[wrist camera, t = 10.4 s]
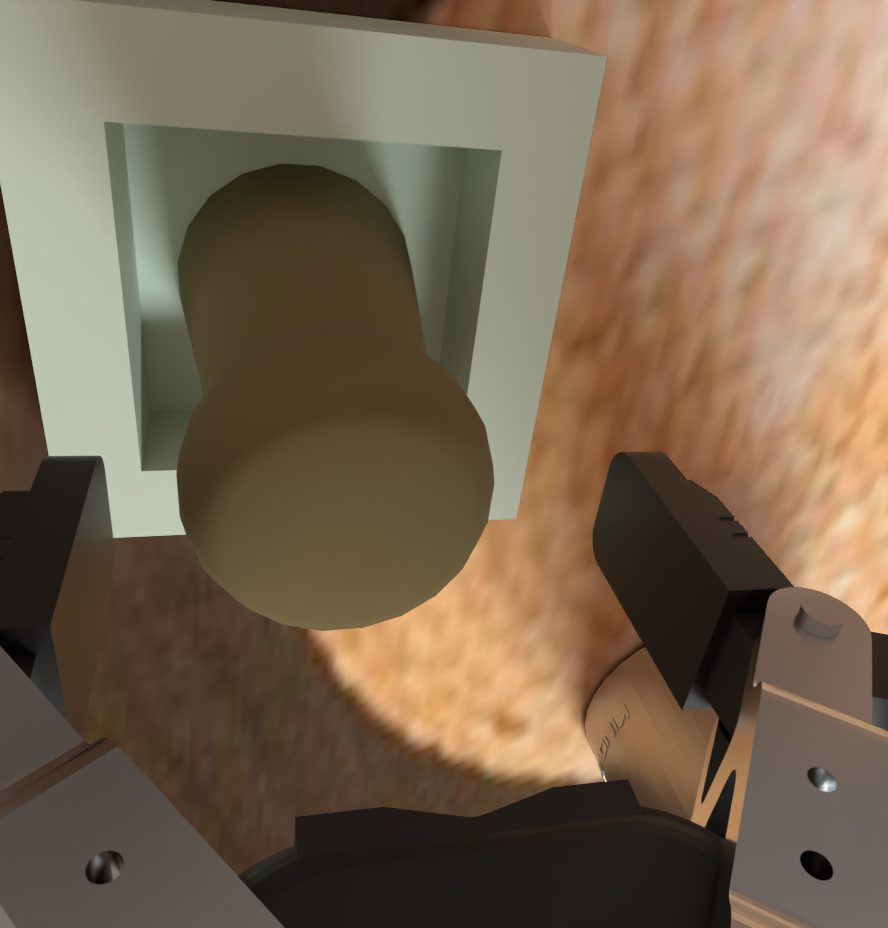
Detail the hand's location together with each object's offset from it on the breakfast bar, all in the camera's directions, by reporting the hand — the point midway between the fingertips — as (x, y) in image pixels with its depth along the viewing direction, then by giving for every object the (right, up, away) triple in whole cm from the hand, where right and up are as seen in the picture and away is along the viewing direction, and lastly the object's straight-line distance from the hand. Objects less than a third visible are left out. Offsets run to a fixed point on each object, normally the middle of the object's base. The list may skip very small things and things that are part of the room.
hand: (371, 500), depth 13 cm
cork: (-3, +5, +8) cm, 10 cm away
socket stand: (-3, +6, +9) cm, 11 cm away
